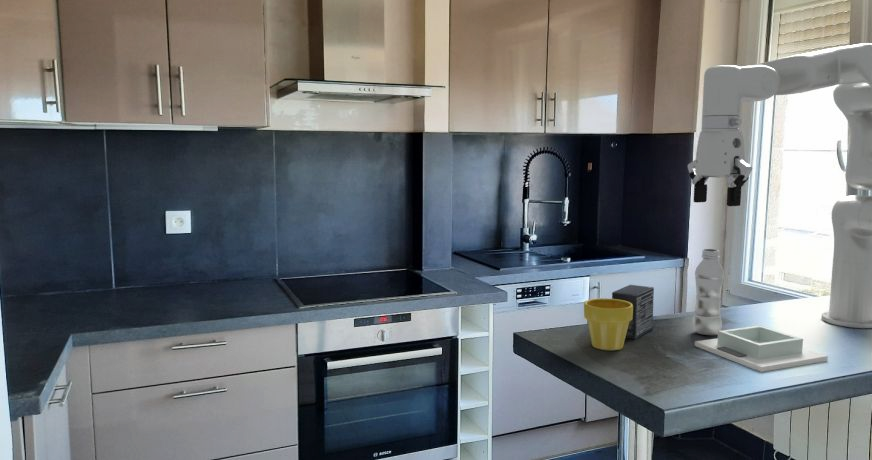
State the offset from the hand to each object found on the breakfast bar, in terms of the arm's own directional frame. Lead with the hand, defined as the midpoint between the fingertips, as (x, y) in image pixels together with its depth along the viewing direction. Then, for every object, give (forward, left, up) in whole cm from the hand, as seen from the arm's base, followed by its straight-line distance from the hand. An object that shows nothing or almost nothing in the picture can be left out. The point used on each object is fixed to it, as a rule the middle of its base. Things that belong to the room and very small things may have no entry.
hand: (716, 203), depth 144 cm
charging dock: (-4, +10, -31) cm, 33 cm away
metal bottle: (-4, -5, -31) cm, 32 cm away
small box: (+11, -13, -32) cm, 36 cm away
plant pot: (+23, -6, -31) cm, 39 cm away
